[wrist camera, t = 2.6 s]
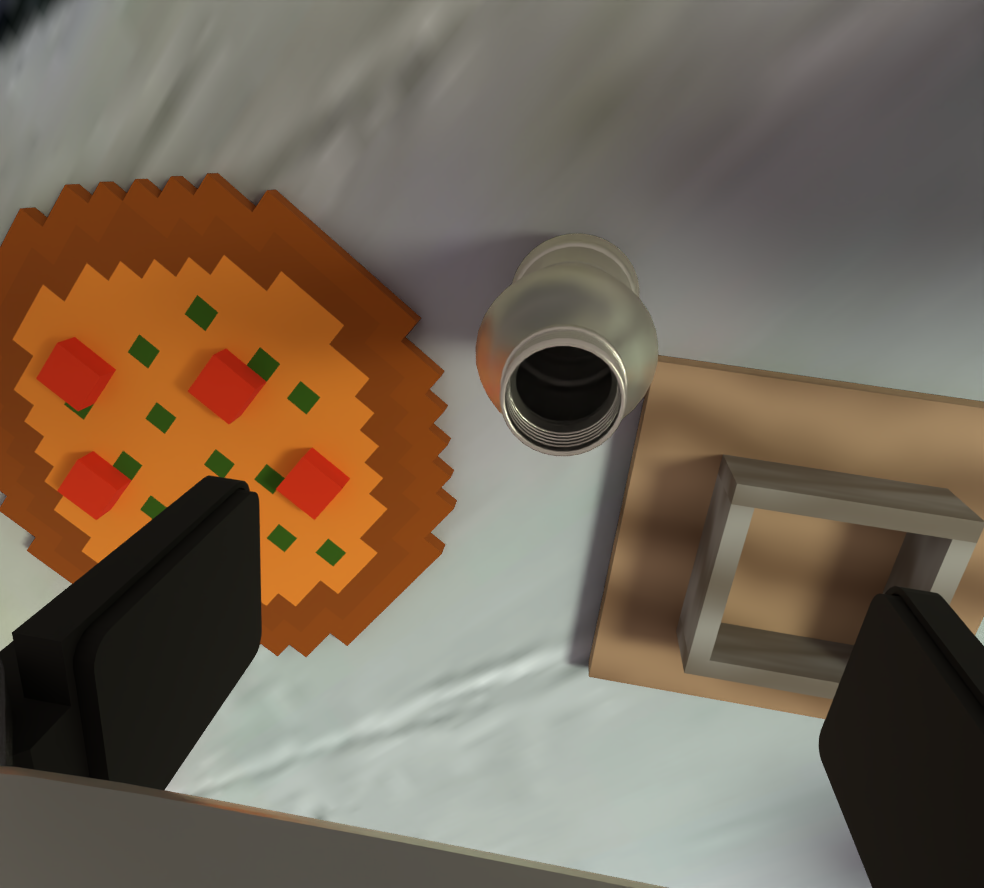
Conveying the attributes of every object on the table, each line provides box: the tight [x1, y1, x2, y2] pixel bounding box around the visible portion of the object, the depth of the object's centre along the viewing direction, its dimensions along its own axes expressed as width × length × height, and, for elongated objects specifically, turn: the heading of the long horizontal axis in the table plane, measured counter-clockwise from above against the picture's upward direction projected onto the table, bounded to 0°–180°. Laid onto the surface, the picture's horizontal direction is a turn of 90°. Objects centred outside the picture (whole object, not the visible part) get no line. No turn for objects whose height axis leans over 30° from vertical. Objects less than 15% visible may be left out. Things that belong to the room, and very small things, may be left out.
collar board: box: [589, 355, 984, 719], centre depth 40 cm, size 22×22×6 cm
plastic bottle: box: [476, 234, 658, 456], centre depth 29 cm, size 6×7×20 cm
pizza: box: [0, 173, 457, 657], centre depth 44 cm, size 32×32×3 cm
